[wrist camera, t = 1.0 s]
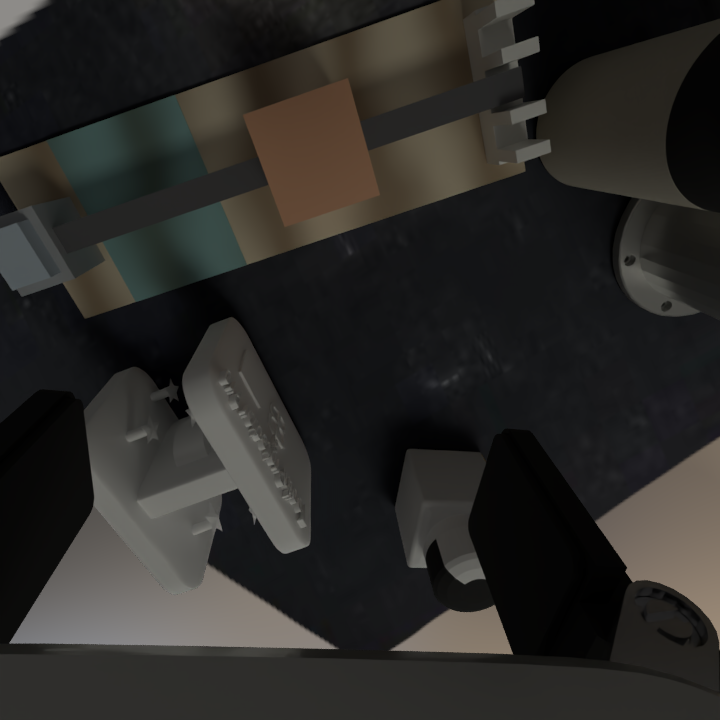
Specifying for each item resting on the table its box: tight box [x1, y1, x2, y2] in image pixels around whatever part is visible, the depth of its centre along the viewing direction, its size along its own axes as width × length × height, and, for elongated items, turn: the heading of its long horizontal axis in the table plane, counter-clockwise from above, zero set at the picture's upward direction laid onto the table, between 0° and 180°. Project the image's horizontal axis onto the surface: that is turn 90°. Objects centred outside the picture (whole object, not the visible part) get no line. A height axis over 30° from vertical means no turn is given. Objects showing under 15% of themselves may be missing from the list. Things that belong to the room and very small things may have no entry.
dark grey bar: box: [52, 66, 525, 254], centre depth 28 cm, size 30×2×2 cm, turn 107°
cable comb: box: [463, 0, 551, 165], centre depth 28 cm, size 2×8×6 cm, turn 17°
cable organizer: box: [84, 317, 311, 595], centre depth 33 cm, size 15×11×12 cm
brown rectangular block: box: [243, 78, 380, 227], centre depth 26 cm, size 5×5×9 cm
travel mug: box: [536, 19, 720, 213], centre depth 24 cm, size 8×8×18 cm
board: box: [0, 0, 525, 319], centre depth 31 cm, size 33×11×1 cm, turn 107°
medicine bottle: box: [395, 449, 495, 612], centre depth 38 cm, size 7×7×12 cm
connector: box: [0, 197, 106, 296], centre depth 29 cm, size 4×4×6 cm
